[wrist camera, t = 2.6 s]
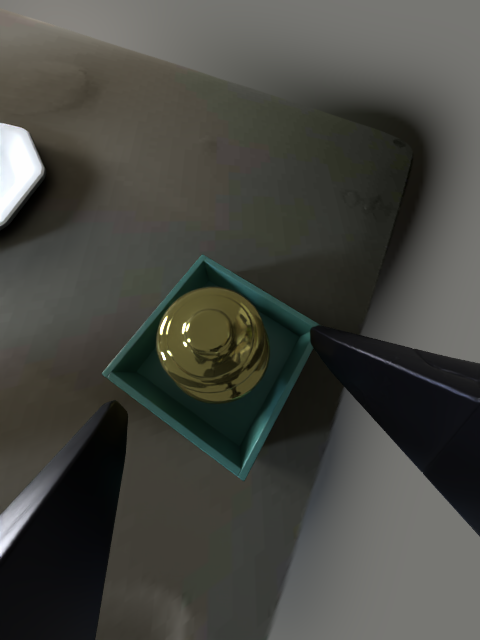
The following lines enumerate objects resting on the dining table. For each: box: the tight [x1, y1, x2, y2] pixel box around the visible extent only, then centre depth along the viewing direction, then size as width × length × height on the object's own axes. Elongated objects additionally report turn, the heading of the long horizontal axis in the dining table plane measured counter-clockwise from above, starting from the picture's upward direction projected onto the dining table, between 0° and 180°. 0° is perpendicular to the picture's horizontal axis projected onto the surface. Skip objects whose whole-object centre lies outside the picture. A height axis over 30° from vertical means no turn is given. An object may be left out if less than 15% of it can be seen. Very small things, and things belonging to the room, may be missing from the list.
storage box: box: [102, 254, 319, 481], centre depth 15 cm, size 12×12×4 cm
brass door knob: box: [156, 287, 270, 404], centre depth 12 cm, size 7×8×10 cm
